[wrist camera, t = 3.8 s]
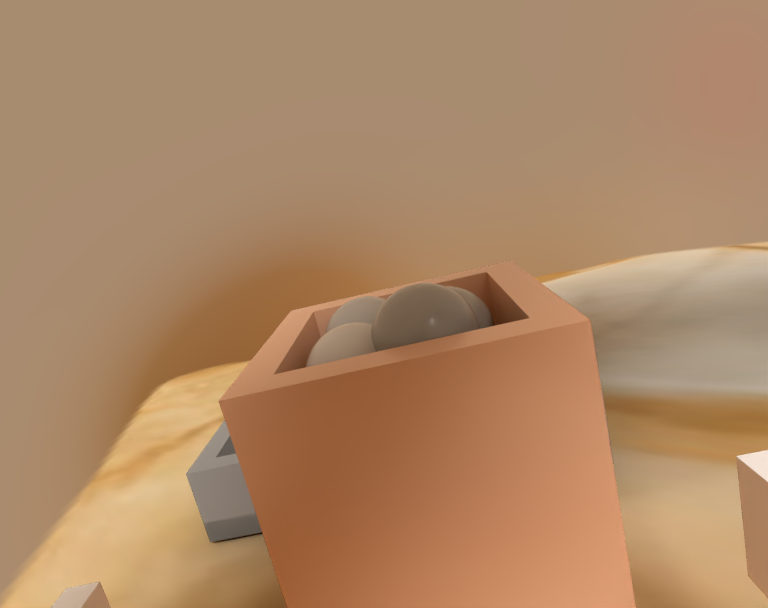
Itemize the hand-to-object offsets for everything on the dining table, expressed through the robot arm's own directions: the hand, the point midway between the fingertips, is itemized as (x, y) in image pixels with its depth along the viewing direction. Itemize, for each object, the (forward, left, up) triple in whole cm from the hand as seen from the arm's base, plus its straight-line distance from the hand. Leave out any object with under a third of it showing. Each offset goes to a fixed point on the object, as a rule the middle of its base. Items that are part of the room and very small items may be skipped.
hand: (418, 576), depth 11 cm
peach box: (-1, -5, -6) cm, 8 cm away
